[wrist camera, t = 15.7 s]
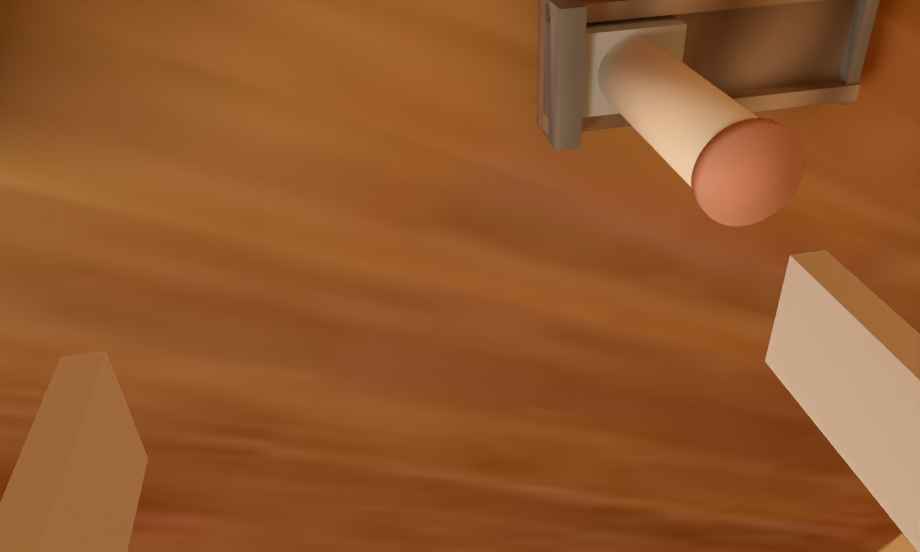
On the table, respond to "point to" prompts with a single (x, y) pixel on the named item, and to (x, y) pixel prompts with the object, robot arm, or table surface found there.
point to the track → (713, 53)
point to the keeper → (690, 119)
